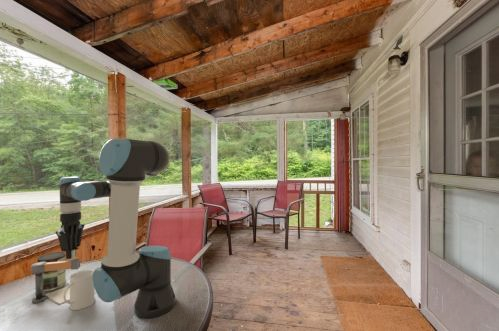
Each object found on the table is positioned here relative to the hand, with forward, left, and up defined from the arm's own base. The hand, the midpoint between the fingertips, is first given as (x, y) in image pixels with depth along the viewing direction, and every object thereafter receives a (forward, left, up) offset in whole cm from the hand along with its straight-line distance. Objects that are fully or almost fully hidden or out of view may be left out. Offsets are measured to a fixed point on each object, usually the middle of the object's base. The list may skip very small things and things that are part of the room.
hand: (71, 265), depth 105 cm
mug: (-15, +4, -12) cm, 19 cm away
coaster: (-1, +1, -12) cm, 12 cm away
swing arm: (0, +6, 0) cm, 6 cm away
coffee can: (+14, +2, -12) cm, 19 cm away
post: (+4, +10, -12) cm, 16 cm away
